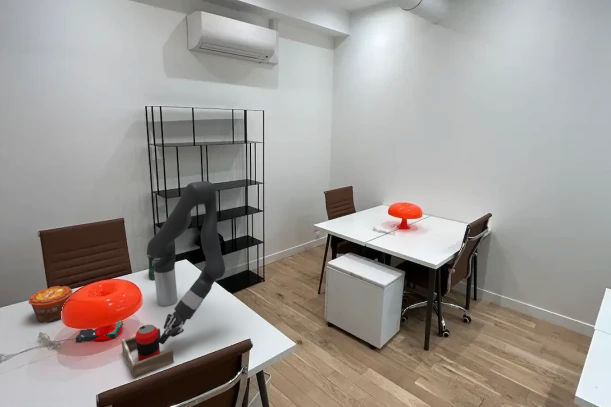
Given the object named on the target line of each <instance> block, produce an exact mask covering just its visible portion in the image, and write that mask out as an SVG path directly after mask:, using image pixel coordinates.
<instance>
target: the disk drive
mask: <svg viewBox="0 0 611 407" xmlns="http://www.w3.org/2000/svg"><path fill="white" fill-rule="evenodd" d="M120 321H121V322H118V323H116V324H115V325H116V327H115V329H114V330H113V331H112V332H110V333H108V334H105V335H96V334H95V329H87V330H80V331H79V333H78V334H77V335H76V336H75V342H78V343H82V342H81V341H87V342H93V341H92V340H94V339H96V338H97V337H99V336H107V337H110V338H112V339H111V340H113V339H117V337H118V335H119V333H118V331H119V329H120V328H121V327H123V326H124V322H123V320H120ZM122 325H123V326H122ZM121 329H122V328H121ZM119 332H120V331H119ZM117 334H118V335H117Z"/></svg>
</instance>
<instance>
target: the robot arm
mask: <svg viewBox="0 0 611 407" xmlns="http://www.w3.org/2000/svg"><path fill="white" fill-rule="evenodd" d="M201 205H203V206H204V209H205V210H204V212H205V214H204V218H203V219H204V220H203V223H202V225H201V226H202V227H201V229H200V243H201V248H202V251H203V255H204V256H205V263H206V264H205V266H204V268H203V269H202V271H201V272H200V275H199V276H198V277H197V279H196V280H195V281H194V282H193V284H192V285H191V287H190V288H189V289H188V290H187V291H186V292H185V293H184V295H183V296H182V297H181V299H180V300H179V301H178V290H177V289H178V288H177V279H176V267H175V265H176V245H175V241H174V240H176V239H177V238H179V237H180V236H182V235H183V234H184V233H185V232H186V230H187V229H188V228H189V227H190V224H191V222H192V216H191V211H192V210H193V209H194V208H195V207H196V206H201ZM217 219H218V216H217V193H216V188H215V186H214V184H213V183H212V182H211V181H209V180H203V181H193V182H190V183H188V184H187V185H186V186H185V188H184V190H182V193H181V196H180V197H179V200H178V202H177V204H175V206H174V208H173V210H172V211H171V213H170V214H169V215H168V216H167V218H166V220H165V221H164V223H163V224H162V226H161V228H160V229H159V230H158V231H157V233H156V234H155V235H154V236H153V237H152V238H151V239H150V240H149V241H148V243H147V248H146V252H147V251H148V254H149V255H150V256H151V257H152V258H160V259H159V260H158V261H157V262H156V263H155V264H154V275H155V280H154V283H155V293H156V294H155V295H156V301H157V305H158V306H161V307H169V306H172V305H174V304H176V302H177V301H178V303H177V304H176V305H175V307H174V312H173V313H172V314H171V313H168V314H167V316H166V319H165V321H164V324H163V329H164V330H163V333H162V334H161V337H160V338H159V345H160V344H161V345H164V344H165V343H166V342H167V341H168V339H169V338H175V337H176V336H178V335H180V334H182V333H184V331H185V329H184V328H183V327H184V325H185V324H186V322H187V320H191V319H192V318H193V316H194V314H195V313H196V312H197V311H198V309H199V308H200V306H201V305H202V303H203V302H204V300H205V298H206V297H207V296H208V294H210V292H211V290H212V287H213V284H214V283H216V282H215V281H217V280H219V279H220V278H222V277H223V276H224V275H225V272H226V264H225V260H224V258H223V254H222V249H221V248H222V247H221V244H220V242H221V241H220V236H219V231H218V220H217Z"/></svg>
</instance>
